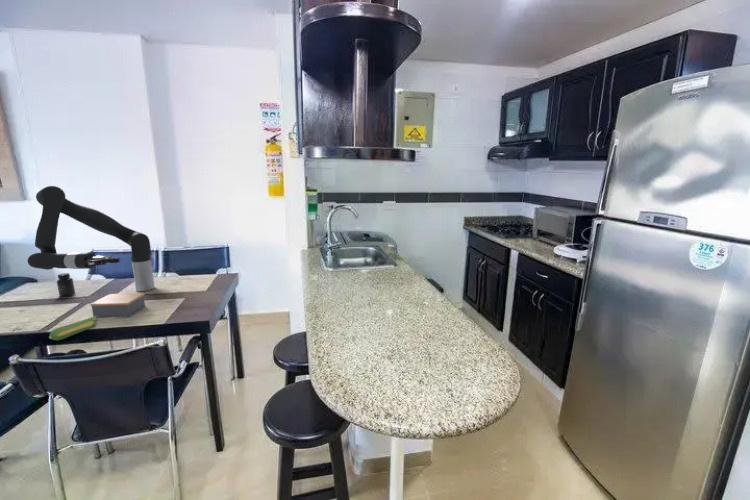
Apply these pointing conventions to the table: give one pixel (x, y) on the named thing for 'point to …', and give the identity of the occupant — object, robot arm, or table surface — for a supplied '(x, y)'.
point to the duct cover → (118, 299)
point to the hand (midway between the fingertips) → (118, 260)
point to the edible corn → (72, 329)
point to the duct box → (118, 309)
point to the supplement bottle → (65, 285)
